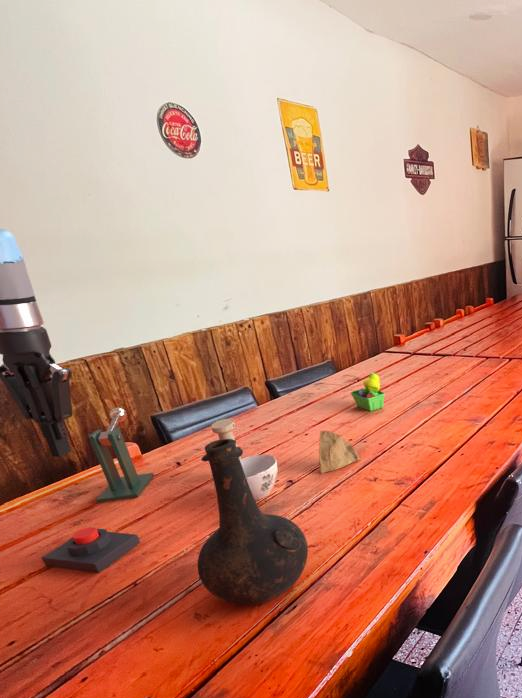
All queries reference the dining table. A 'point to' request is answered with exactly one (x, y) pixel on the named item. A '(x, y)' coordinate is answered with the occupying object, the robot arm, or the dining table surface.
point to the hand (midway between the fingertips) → (61, 453)
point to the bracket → (118, 485)
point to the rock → (335, 452)
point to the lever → (112, 425)
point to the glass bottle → (247, 538)
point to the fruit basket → (369, 394)
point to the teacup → (260, 474)
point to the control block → (92, 552)
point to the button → (85, 536)
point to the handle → (224, 429)
